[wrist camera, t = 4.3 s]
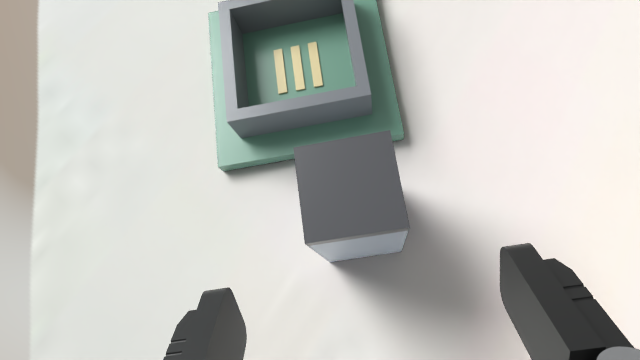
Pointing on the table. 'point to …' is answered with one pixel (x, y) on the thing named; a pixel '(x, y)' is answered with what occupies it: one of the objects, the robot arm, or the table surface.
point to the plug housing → (351, 197)
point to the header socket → (297, 77)
